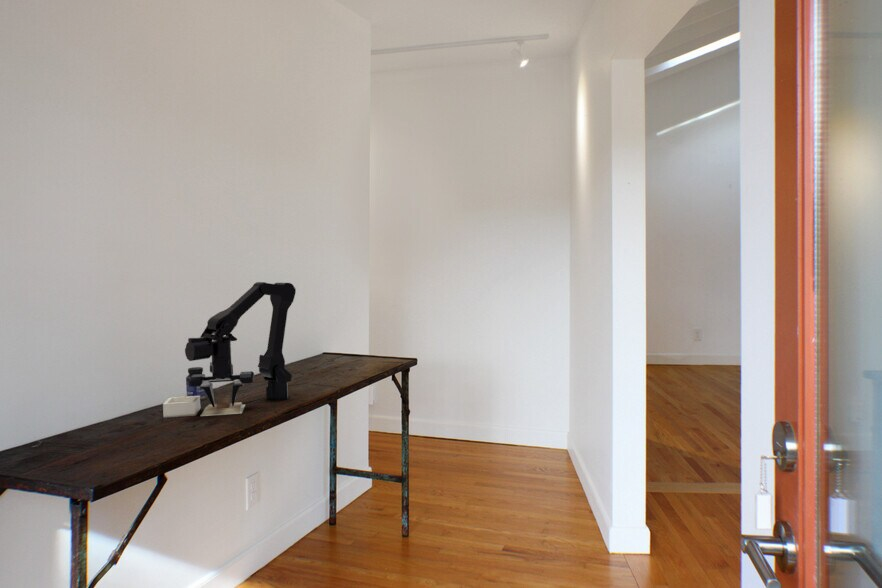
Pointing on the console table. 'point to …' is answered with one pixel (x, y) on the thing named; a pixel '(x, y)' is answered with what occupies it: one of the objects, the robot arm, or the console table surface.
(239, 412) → the mat
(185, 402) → the beige boxy piece
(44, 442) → the console table surface
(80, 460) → the console table surface
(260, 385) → the console table surface
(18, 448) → the console table surface
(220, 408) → the lid
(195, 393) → the pill bottle
